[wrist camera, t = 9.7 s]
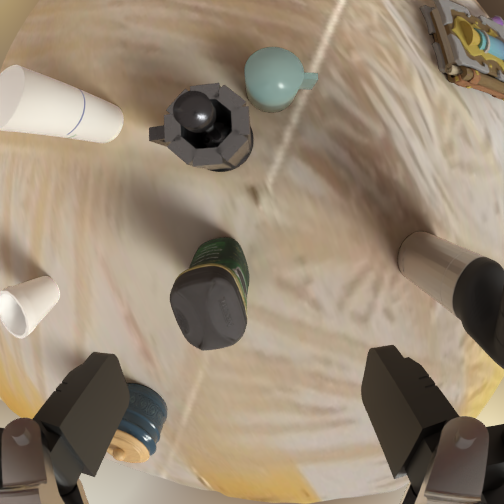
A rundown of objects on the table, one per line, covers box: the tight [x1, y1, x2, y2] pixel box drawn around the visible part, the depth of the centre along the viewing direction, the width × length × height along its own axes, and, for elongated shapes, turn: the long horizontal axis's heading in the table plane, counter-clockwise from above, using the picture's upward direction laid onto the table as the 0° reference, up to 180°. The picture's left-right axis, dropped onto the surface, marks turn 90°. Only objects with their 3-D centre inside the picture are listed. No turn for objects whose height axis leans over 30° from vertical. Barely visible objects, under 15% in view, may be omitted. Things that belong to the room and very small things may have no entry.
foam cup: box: [0, 276, 60, 339], centre depth 43 cm, size 10×9×13 cm
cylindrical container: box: [0, 65, 124, 143], centre depth 29 cm, size 7×7×25 cm
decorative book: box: [420, 0, 504, 101], centre depth 30 cm, size 25×26×11 cm
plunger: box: [173, 91, 231, 148], centre depth 29 cm, size 4×4×18 cm
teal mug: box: [245, 47, 318, 113], centre depth 36 cm, size 10×8×9 cm
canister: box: [107, 383, 167, 463], centre depth 47 cm, size 13×13×18 cm
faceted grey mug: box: [149, 83, 253, 172], centre depth 35 cm, size 12×10×15 cm
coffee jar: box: [170, 237, 249, 350], centre depth 38 cm, size 10×8×19 cm
